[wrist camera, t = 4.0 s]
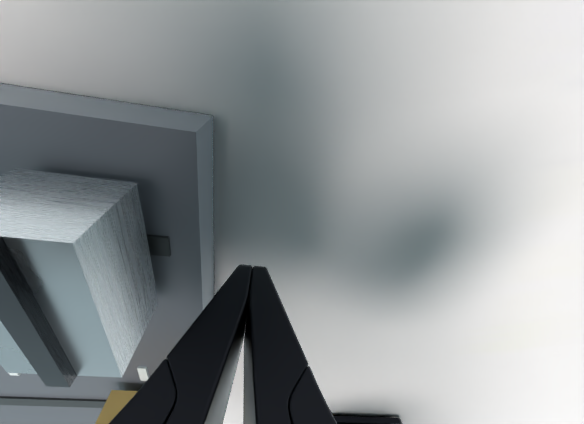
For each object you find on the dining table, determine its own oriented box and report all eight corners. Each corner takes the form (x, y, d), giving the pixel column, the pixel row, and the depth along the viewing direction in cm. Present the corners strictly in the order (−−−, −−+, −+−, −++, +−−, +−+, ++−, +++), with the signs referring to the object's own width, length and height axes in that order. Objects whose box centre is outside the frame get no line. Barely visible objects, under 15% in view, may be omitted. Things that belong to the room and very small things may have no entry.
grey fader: (137, 182, 7) (61, 253, 5) (158, 302, 10) (116, 389, 7) (16, 168, 7) (-135, 236, 4) (71, 296, 9) (-4, 385, 7)
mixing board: (213, 115, 8) (194, 133, 7) (214, 398, 19) (207, 434, 17) (-516, 4, 7) (-815, -12, 5) (-67, 389, 17) (-108, 428, 15)
